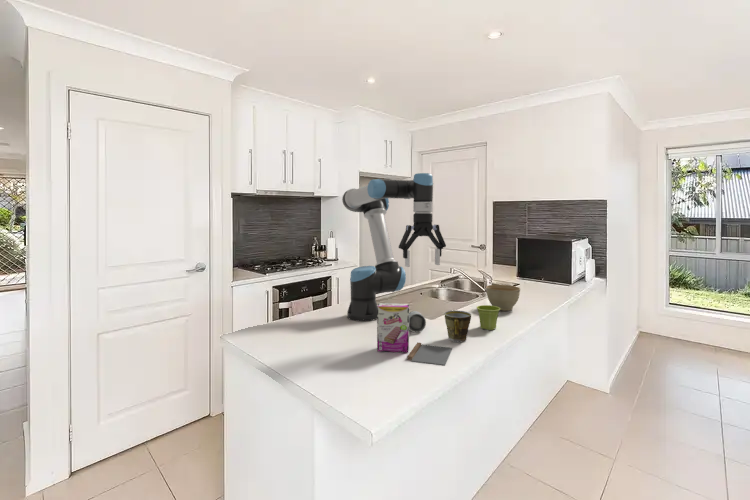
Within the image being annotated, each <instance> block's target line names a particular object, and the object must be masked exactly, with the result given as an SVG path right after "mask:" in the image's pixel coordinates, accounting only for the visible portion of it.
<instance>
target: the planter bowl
mask: <svg viewBox="0 0 750 500" xmlns="http://www.w3.org/2000/svg"><path fill="white" fill-rule="evenodd" d="M485 288H486V297H487V299H488V301H489V304H491V305H490V306H497V307H499V308H500V310H499V311H501V312H502V311H503V312H504V311H505V312H507V311H513V309H514V307H515V306H516V304H517V302H518V301H519V298H520V294H521V288H520V287H518V286H514V285H508V284H490V285H489V284H488V285H487V286H486V287H485Z"/></svg>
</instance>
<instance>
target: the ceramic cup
mask: <svg viewBox="0 0 750 500" xmlns="http://www.w3.org/2000/svg"><path fill="white" fill-rule="evenodd" d="M443 316H444V321H445V325H446V330H447V336H448V340H449V341H451V342H453V343H463V342H466V341H467V338H468V333H469V328H470V324H471V320H472V313H471V312H468V311H464V310H448V311H446V312H444V315H443Z"/></svg>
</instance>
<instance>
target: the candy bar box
mask: <svg viewBox="0 0 750 500" xmlns="http://www.w3.org/2000/svg"><path fill="white" fill-rule="evenodd" d="M409 313H410V304H409V303H391V302H388V303H387V302H386V303H385V302H378V303H377V319H376V324H377V325H376V327H377V328H376V329H377V330H376V334H377V335H376V342H377V343H376V346H377V347H376V351H377V352H380V353H381V352H383V353H385V352H386V353H409V349H410V329H409Z"/></svg>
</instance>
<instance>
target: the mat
mask: <svg viewBox="0 0 750 500" xmlns="http://www.w3.org/2000/svg"><path fill="white" fill-rule="evenodd" d="M452 350H453V347H450V346H449V347H447V346H441V345H440V346H439V345H432V344H431V345H430V344H422V343H421V347H420V348H419V350H418V351H417V353H416V354H415V356H414V357H413V359H412V360H410V361H411V362H412V363H413V362H414V363H422V364H429V365H430V364H431V365H436V366H437V365H438V366H446V364H447V362H448V360H449V357H450V355H451V353H452Z"/></svg>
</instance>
